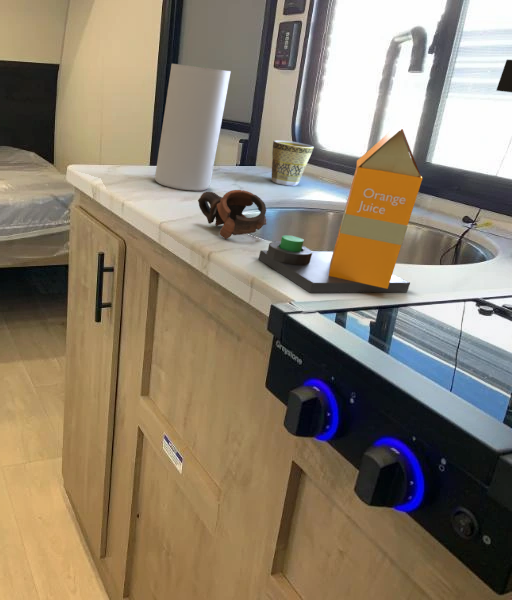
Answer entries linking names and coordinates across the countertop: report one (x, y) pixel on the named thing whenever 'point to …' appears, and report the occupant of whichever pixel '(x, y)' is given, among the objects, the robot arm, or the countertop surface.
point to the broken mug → (232, 212)
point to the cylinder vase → (191, 127)
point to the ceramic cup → (289, 161)
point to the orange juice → (377, 212)
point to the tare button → (291, 243)
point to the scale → (318, 271)
